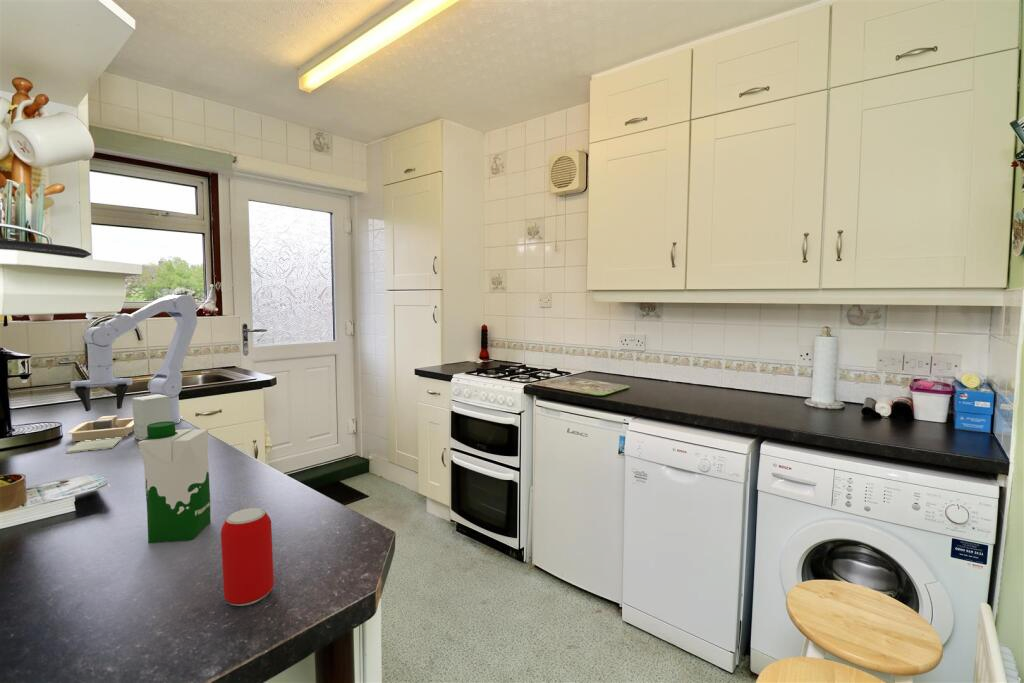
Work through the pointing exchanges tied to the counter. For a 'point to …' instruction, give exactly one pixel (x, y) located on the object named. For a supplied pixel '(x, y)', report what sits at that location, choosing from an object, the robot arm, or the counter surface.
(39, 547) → the counter surface
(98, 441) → the tile
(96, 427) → the block
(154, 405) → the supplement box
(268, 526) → the beverage can
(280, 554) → the counter surface
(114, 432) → the wooden tray
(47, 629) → the counter surface
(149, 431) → the milk carton
